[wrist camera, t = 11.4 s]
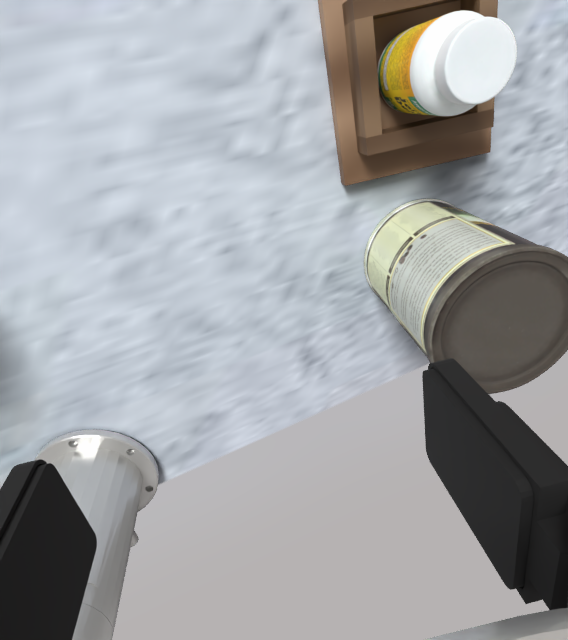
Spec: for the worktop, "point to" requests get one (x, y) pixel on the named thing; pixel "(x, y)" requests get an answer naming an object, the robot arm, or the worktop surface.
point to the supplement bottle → (447, 64)
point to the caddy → (367, 103)
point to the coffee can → (471, 292)
